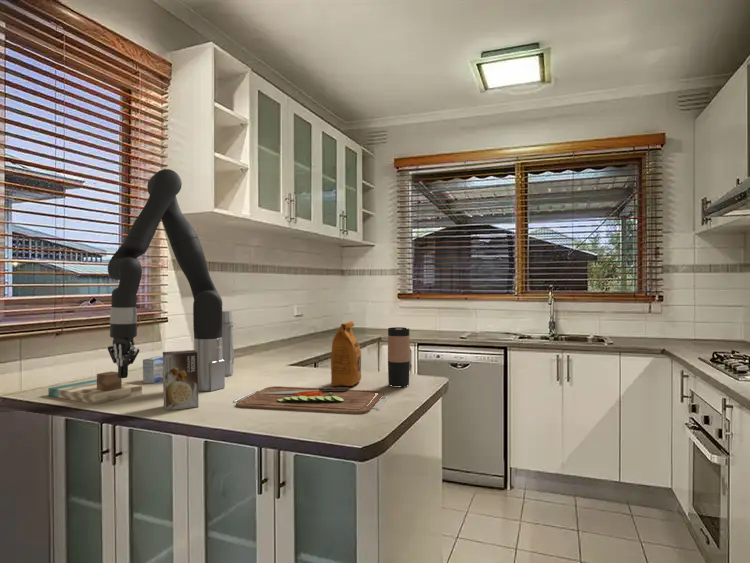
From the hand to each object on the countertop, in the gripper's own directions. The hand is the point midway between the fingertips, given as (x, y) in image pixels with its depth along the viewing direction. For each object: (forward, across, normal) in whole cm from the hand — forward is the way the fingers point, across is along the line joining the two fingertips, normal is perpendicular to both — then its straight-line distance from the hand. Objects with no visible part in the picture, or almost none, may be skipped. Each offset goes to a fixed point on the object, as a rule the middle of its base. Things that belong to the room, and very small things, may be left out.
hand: (122, 377), depth 159 cm
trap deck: (+7, +14, 0) cm, 15 cm away
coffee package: (+6, -48, -53) cm, 72 cm away
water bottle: (+6, +2, -44) cm, 45 cm away
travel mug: (+5, -65, -61) cm, 89 cm away
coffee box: (+7, -23, -3) cm, 24 cm away
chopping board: (+6, -52, -28) cm, 59 cm away
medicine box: (+7, +16, -24) cm, 29 cm away
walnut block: (+4, +7, 0) cm, 8 cm away
